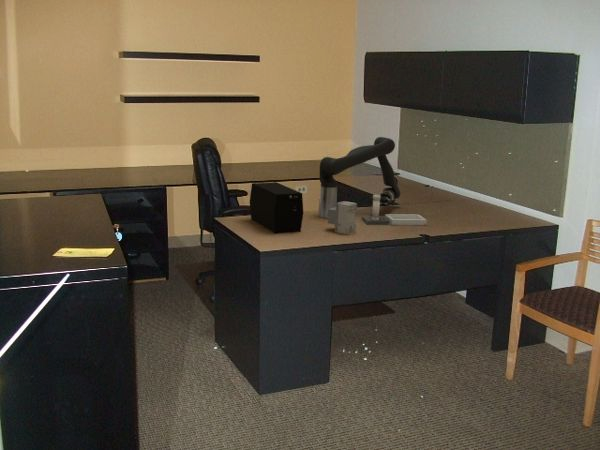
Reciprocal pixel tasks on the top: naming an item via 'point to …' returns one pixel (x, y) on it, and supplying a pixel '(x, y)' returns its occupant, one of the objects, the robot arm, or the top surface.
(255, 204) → the uninterruptible power supply
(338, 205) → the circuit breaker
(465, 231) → the top surface
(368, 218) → the fuse holder
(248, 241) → the top surface
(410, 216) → the tray
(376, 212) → the fuse
